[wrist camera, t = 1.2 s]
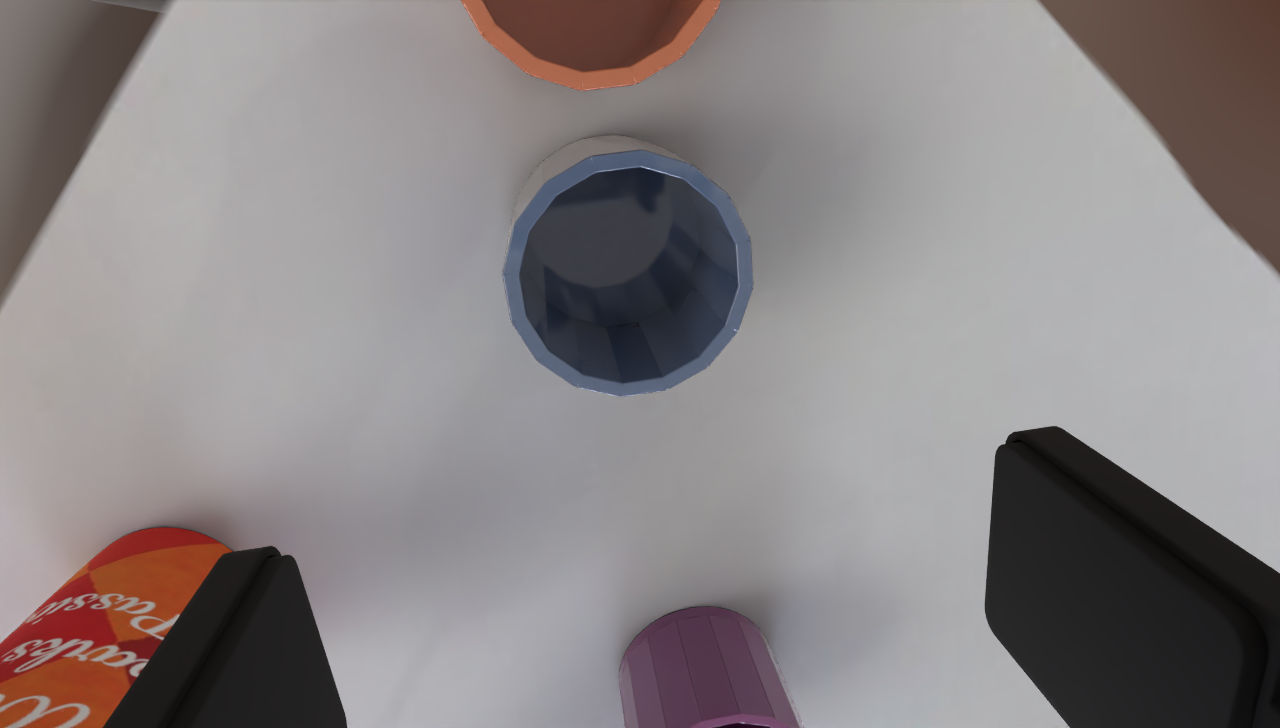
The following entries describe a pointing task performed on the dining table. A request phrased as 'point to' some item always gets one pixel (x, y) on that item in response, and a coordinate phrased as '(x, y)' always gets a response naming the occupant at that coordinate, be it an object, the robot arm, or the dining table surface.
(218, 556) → the coffee cup
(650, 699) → the plum cup
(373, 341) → the dining table surface
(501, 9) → the terracotta cup
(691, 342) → the blue faceted cup
